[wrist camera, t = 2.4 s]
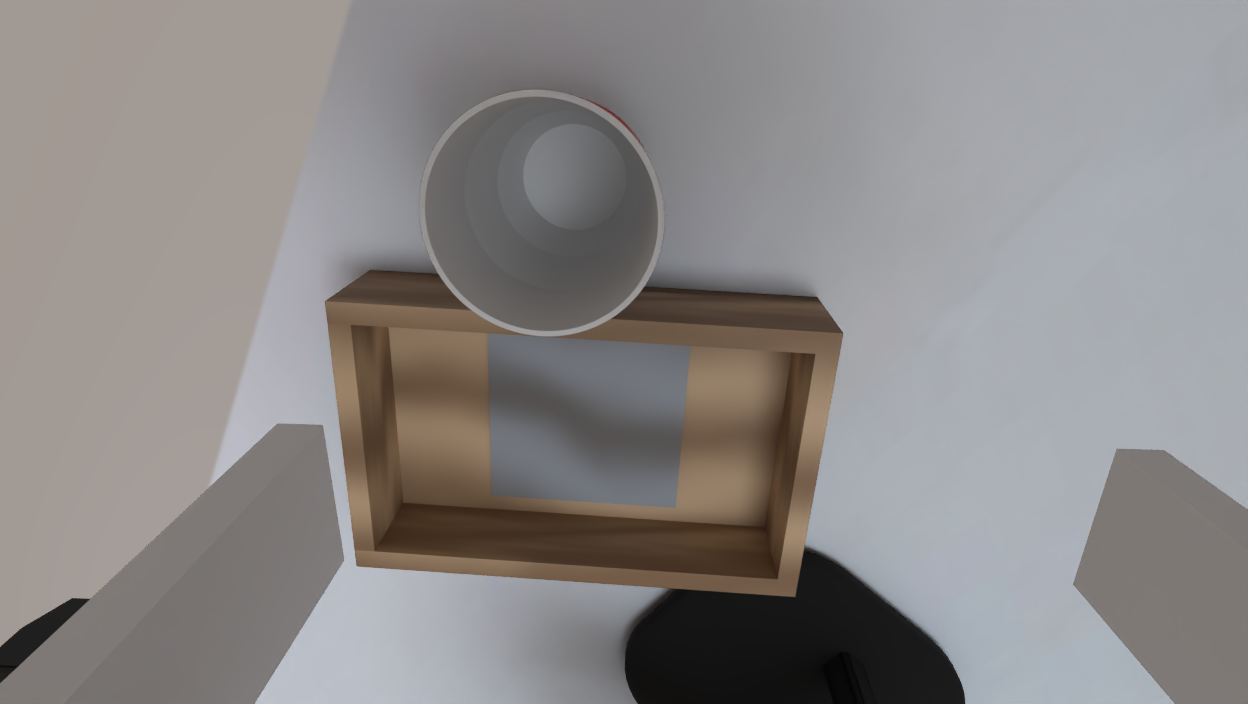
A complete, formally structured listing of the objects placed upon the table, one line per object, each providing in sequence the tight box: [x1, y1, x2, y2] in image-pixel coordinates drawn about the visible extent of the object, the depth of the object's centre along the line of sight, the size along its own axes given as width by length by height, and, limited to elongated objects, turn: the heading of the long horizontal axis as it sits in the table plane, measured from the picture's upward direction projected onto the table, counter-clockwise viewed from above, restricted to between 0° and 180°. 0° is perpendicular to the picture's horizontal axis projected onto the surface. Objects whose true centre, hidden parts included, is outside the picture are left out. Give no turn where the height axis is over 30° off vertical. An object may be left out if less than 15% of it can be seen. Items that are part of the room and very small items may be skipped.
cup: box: [419, 89, 664, 336], centre depth 27 cm, size 8×8×10 cm
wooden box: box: [325, 270, 843, 597], centre depth 34 cm, size 14×22×5 cm, turn 87°
